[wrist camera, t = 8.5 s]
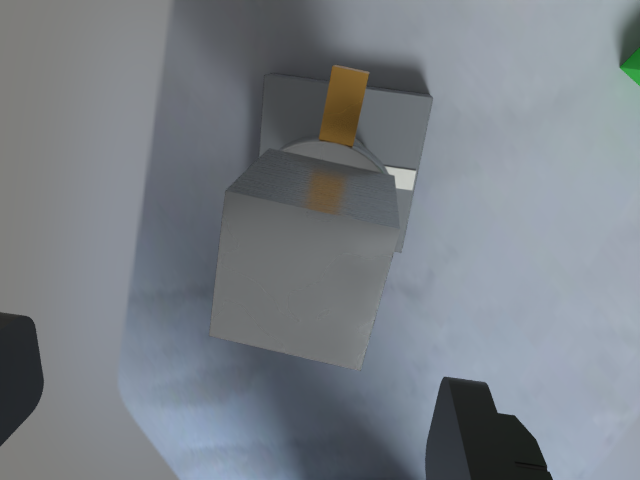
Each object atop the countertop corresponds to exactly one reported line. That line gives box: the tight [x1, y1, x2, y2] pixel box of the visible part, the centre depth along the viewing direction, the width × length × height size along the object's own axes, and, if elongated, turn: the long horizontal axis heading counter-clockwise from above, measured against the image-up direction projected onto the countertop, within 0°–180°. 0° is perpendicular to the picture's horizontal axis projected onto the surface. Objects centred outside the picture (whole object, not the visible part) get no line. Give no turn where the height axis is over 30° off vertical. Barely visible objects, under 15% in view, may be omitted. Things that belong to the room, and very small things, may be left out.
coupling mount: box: [259, 73, 433, 253], centre depth 22 cm, size 8×8×7 cm
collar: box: [209, 65, 400, 371], centre depth 15 cm, size 6×8×7 cm
